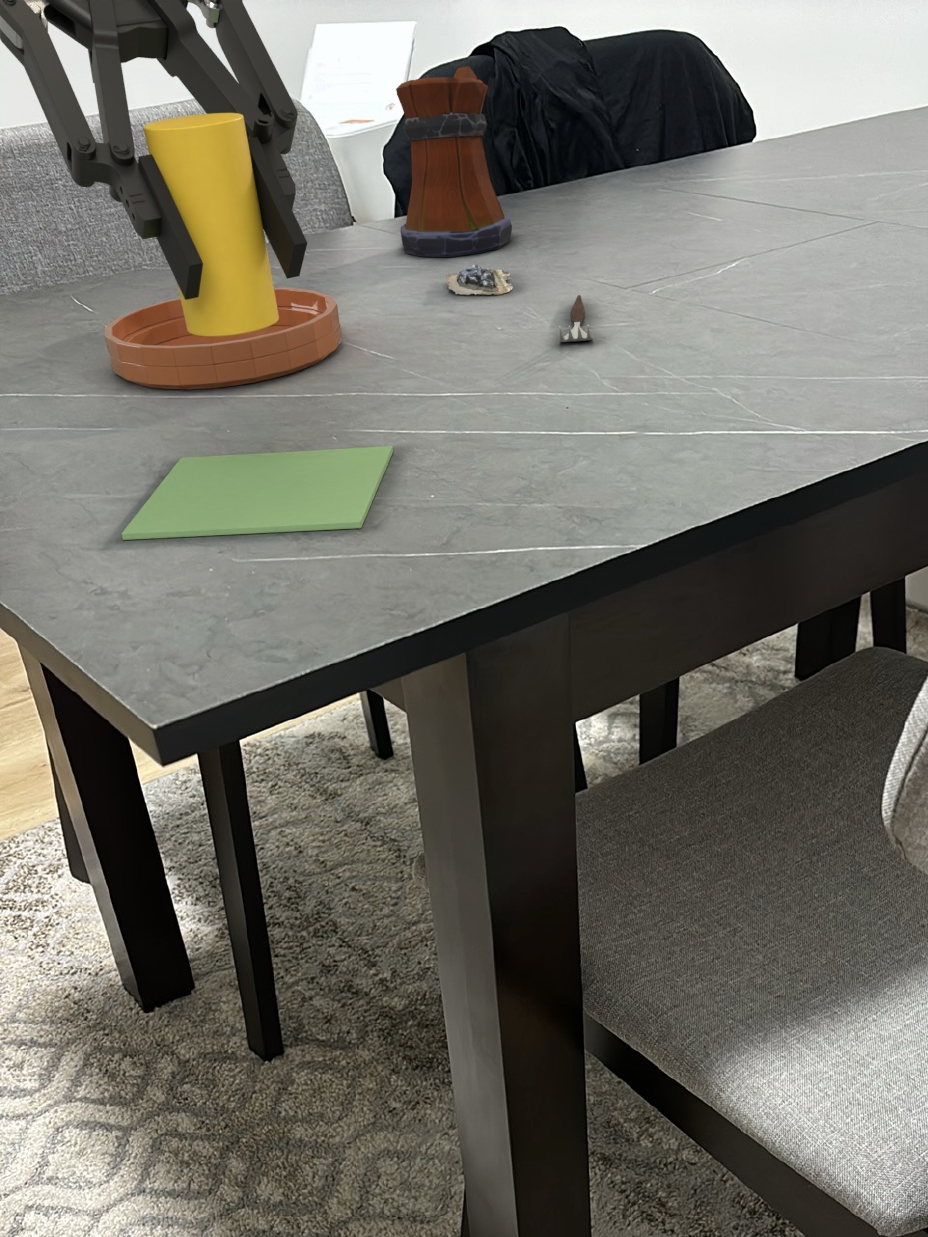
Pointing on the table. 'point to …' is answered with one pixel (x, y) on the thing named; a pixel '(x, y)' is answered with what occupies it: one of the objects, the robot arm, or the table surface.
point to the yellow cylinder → (218, 220)
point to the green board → (263, 493)
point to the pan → (222, 344)
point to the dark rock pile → (479, 281)
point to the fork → (576, 324)
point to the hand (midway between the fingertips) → (246, 270)
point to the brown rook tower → (449, 169)
